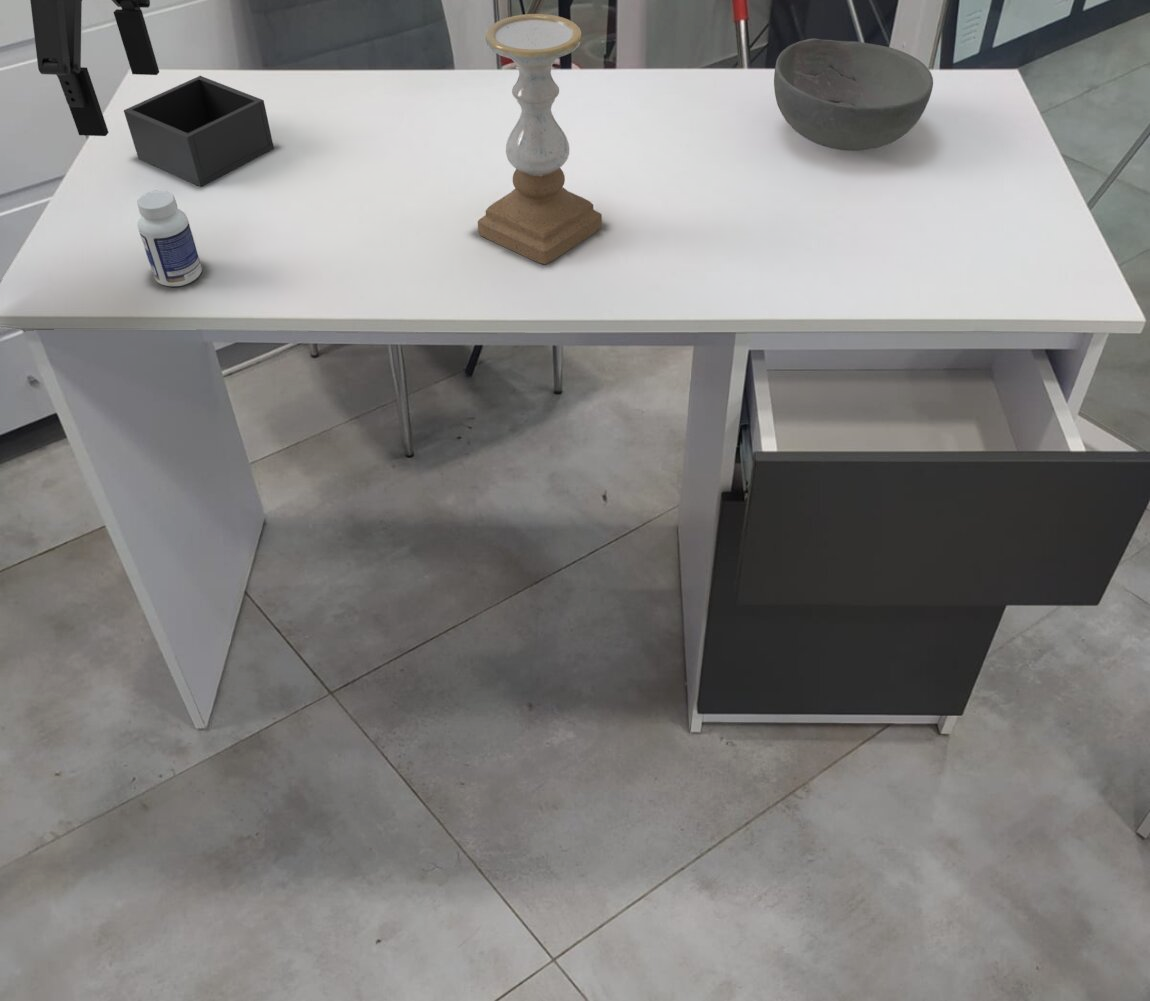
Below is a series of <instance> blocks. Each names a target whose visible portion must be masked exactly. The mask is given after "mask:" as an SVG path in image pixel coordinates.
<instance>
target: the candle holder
mask: <svg viewBox="0 0 1150 1001" xmlns="http://www.w3.org/2000/svg"><path fill="white" fill-rule="evenodd" d="M582 39H583V38H582V30H581V28H580V27H579V26H578V24H576V23H575V22H573V21H572V20H570V19H568V18H565V17H562V16H559V15H554V14H545V13H528V14H518V15H512V16H509V17H505V18H503V19H499V20H498V21H496V22H494V23H493V24H492V25H490V26H489V27H488V29H487V31H486V33H485V41H486V45H487V46H488V48H489V49H490V50H491V51H492V52H493V53H495V54H496V55H498V56H501V57H503V58H506V59H510V60H512V62H513V63H514V64H515V66H517V70H518V77H517V81H516V83H515V84H514V85H513V86H512V89H511V94H512V96H513V98H515V100H516V102H517V103H518V105H519V106H520V109H521V112H520V116H519V118H518V120H517V122H516V124H515V126H514V127H513V128H512V130H511V132H510V134H509V136H508V137H507V140H506V144H505V155H506V158H507V161H508V162H509V164H511V166H512V167H513V168H515V170H514V171H513V174H512V185H513V187H514V189H512V190H511V192H509V193H508V194H505V195H504V196H503V197H501V198H499V199H498V200H496V201H495V202H493V203H492V204H490V205H489V206H488V207H487V208H486V210H485V215H483V216H481V218H479V219H478V220H477V231H478V233H477V234H478V235H479V236H480V237H483V238H485V239H487V240H489V241H491V242H493V243H495V244H497V245H499V246H501V247H503V248H506V249H508V250H510V251H512V252H514V253H517V254H519V255H521V256H523V257H525V258H527V259H529V260H531V261H534V262H536V263H538V264H540V265H541V264H542V265H548V264H549V263H551V262H553V261H554V260H556V259H557V258H559V257H560V256H562V255H564V254H565V253H567V252H568V251H570V250H571V249H573V248H574V247H576V246H578V245H579V244H580V243H582V242H583V241H585V240H587V239H588V238H590V237H591V236H592V235H594V234H595V233H597V232H598V231H600V230H601V229H602V227H603V214H602V212H599V211H598V210H595V209H594V204H593V203H592V201H590V200H589V199H586V198H584V197H582V196H580V195H577V194H575V193H573V192H571V191H569V190H567V189H566V188H564V185H565V181H566V178H565V173H564V171H563V169H562V167H563V166H564V165H565V164H566V162H567V160H568V159H569V156H570V143H569V139H568V137H567V135H566V134H565V132H564V130H563V129H562V127H561V126H560V125H559V124H558V122H557V120H556V119H555V116H554V115H553V112H552V108H553V104H554V103H555V101H556V98H557V97H558V96H559V94H560V87H559V86H558V84H557V83H556V81H555V80H554V79H553V76H552V69H553V68H552V67H553V65H554V63H555V62H556V60H557V59H558V58H561V57H565V56H566V55H569V54H571V53H572V52H574V51H575V50H576V49H578V47H580V45H581V43H582Z"/></svg>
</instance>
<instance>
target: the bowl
mask: <svg viewBox="0 0 1150 1001" xmlns="http://www.w3.org/2000/svg"><path fill="white" fill-rule="evenodd" d="M773 74H774V75H773V89H774V96H775V100H776V104H777V107H778V110H779V111H780V113H781V115H782V117H783V119H784V120H785V121H786V122H787V124H788V125H789V126H790V127H791V128H792V129H793V130H794V131H795V132H796V133H797V134H799V135H800V136H802V138H804V139H806V140H808V141H810V142H812V143H813V144H817V145H819V146H822V147H824V148H828V149H833V150H836V151H837V150H838V151H845V152H847V151H848V152H849V151H850V152H856V151H868V150H869V151H870V150H874V149H877V148H881V147H884V146H887V145H889V144H892V143H894V142H896V141H897V140H899V139H901V138H902V137H903V136H904V135H906V134H908V133H909V132H910V130H911V129H913V128H914V127H915V126H916V125H917V123H918V122H919V120H920V119H921V117H922V115H923V114H924V112H925V110H926V108H927V105H928V103H929V101H930V98H931V96H932V92H933V88H934V77H933V75H932V72H931V71H930V69H929V68H928V67H927V66H926V65H925V63H924V62H922V61H921V60H919V59H918V58H916V57H915V56H913V55H910V54H909V53H906V52H904V51H901V50H899V49H896V48H893V47H890V46H887V45H886V46H885V45H880V44H874V43H870V42H861V41H853V40H851V41H848V40H833V39H819V38H808V39H804V40H800V41H798V42H794V43H792V44H790V45H788V46H787V47H785V49H783V50H782V51H781V52H780V53H779V55H778V56H777V58H776V62H775V66H774V73H773Z"/></svg>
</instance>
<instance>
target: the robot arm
mask: <svg viewBox="0 0 1150 1001" xmlns="http://www.w3.org/2000/svg"><path fill="white" fill-rule="evenodd" d="M29 1H30V9H31V10H30V11H31V18H32V27H33V35H34V36H33V37H34V44H35V52H36V61H37V69H38V71H39V73H40V74H41V75H52V76H53V75H54V76H57V78H58V81H59V84H60V87H61V89H62V93H63V95H64V97H65V101H66V103H67V105H68V109H69V111H70V113H71V116H72V119H73V122H74V125H75V127H76V130H77V133H78V136H87V137H88V136H91V137H106V136H107V135H108V134H109V129H108V126H107V123H106V121H105V120H106V119H105V116H104V114H103V111H102V108H101V105H100V103H99V98H98V96H97V94H96V91H95V87H94V84H93V82H92V79H91V75H90V73H89V70H88V67H83V66H82V10H83V9H82V8H83V6H82V3H83V2H82V1H83V0H29ZM111 1H112V2H113V4H114V5H115V6H117V7H118V8H121V9H118V8H117V9H115V10H114V11H113V15H114V18H115V22H116V25H117V29H118V32H119V35H120V38H121V42H122V45H123V48H124V52H125V55H126V58H127V61H128V64H129V68H130V71H131V74H132V75H138V76H139V75H142V76H157V75H159V73H160V69H159V66H158V62H157V59H156V56H155V51H154V48H153V45H152V41H151V37H150V35H149V31H148V27H147V24H146V21H145V17H144V13H143V10H142V9H141V8H150V6H151V0H111Z"/></svg>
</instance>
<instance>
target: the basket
mask: <svg viewBox="0 0 1150 1001" xmlns="http://www.w3.org/2000/svg"><path fill="white" fill-rule="evenodd" d="M123 113H124V117H125V120H126V122H127V126H128V129H129V134H130V136H131V139H132V143H133V145H134V146H133V147H134V149H135V152H136V156H137V159H138V160H140V161H142V162H144V163H147V164H149V165H151V166H153V167H155V168H158V169H160V170H162V171H164V172H167V173H169V174H170V175H174V176H176V177H178V178H180V179H182V180H184V181H186V182H189V183H191V184H193V185H195V186H198V187H199V188H201V187H204V186H206V185H208V184H209V183H212V182H213V181H215V180H216V179H219V178H221V177H223V176H224V175H226V174H228V173H230V172H232V171H234V170H235V169H238V168H240V167H242V166H243V165H246V164H247V163H249V162H251V161H253V160H255V159H257V158H259V157H261V156H263V155H265V154H267V153H268V152H271V151H272V150H274V149H275V146H274V143H273V137H272V132H271V128H270V123H269V119H268V113H267V108H266V105H265V100H264V99H262V98H259V97H257V96H255V95H251V94H249V93H246V92H245V91H241V90H239V89H236V88H233V87H231V86H228V85H225V84H223V83H221V82H217V81H215V80H212V79H210V78H207V77H204V76H202V75H199V76H196V77H194V78H191V79H190V80H187V81H185V82H183V83H180V84H178V85H176V86H174V87H171V88H170V89H166V90H165V91H163V92H161V93H158V94H157V95H154V96H152V97H150V98H148V99H146V100H143V101H141V102H139V103H136V104H134V105H132V106H130V107H128V108H126V109H125V108H124V109H123Z"/></svg>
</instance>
